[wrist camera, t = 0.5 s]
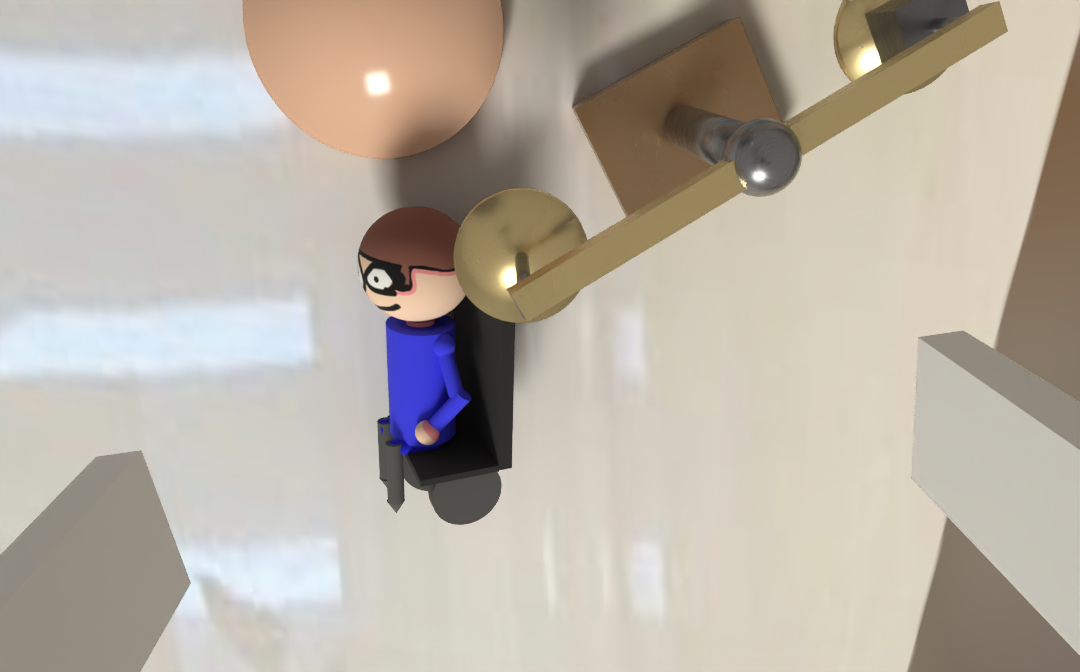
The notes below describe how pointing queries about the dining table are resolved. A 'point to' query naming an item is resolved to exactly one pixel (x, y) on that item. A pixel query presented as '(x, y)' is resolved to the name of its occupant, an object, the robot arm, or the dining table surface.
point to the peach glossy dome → (376, 68)
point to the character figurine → (438, 369)
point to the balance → (699, 146)
